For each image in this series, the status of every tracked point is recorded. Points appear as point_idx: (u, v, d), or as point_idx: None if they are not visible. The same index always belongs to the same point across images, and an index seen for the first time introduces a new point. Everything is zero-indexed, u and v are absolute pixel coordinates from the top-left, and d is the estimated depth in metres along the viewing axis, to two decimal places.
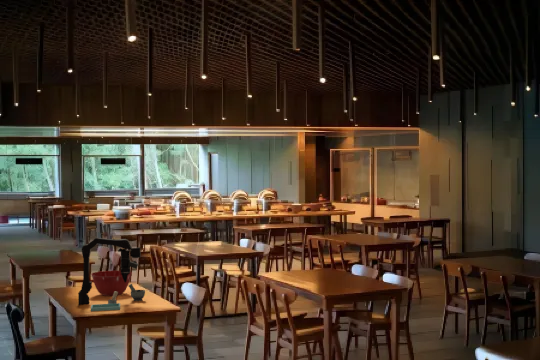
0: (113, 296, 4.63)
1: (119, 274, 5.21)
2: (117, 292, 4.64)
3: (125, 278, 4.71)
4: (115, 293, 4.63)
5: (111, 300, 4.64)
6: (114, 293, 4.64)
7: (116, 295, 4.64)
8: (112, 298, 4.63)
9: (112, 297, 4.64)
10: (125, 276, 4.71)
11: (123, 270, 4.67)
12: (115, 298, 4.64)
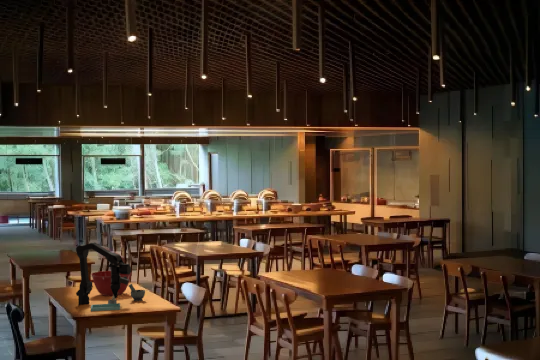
0: (113, 296, 4.63)
1: None
2: None
3: (115, 294, 4.62)
4: None
5: (111, 300, 4.64)
6: None
7: None
8: (112, 298, 4.64)
9: (112, 297, 4.64)
10: (115, 292, 4.62)
11: (113, 286, 4.55)
12: (115, 298, 4.64)
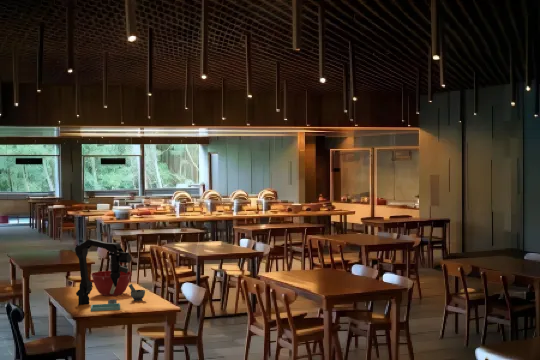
0: (113, 285, 4.63)
1: None
2: (117, 281, 4.64)
3: (115, 282, 4.62)
4: None
5: (111, 289, 4.63)
6: None
7: None
8: (112, 287, 4.63)
9: (112, 286, 4.64)
10: (115, 280, 4.62)
11: (113, 275, 4.55)
12: (115, 287, 4.64)
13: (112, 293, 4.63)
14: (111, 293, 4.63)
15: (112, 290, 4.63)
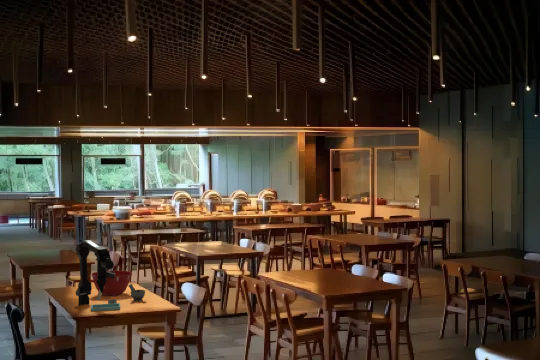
0: (99, 291, 4.52)
1: (119, 274, 5.21)
2: None
3: (102, 288, 4.51)
4: None
5: (97, 295, 4.52)
6: None
7: None
8: (98, 293, 4.52)
9: (98, 292, 4.52)
10: (102, 286, 4.51)
11: (99, 281, 4.44)
12: (101, 293, 4.52)
13: (98, 299, 4.52)
14: (97, 299, 4.52)
15: (98, 296, 4.52)
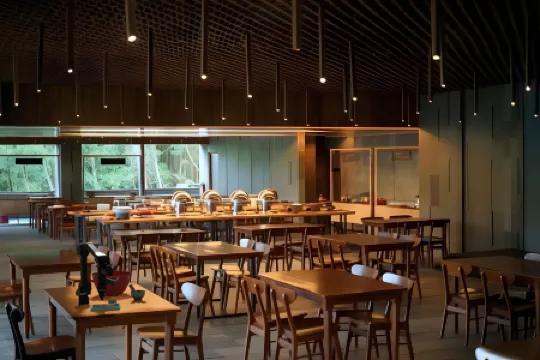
0: (109, 305, 4.53)
1: (119, 274, 5.21)
2: None
3: (102, 296, 4.48)
4: (112, 306, 4.53)
5: (104, 305, 4.53)
6: (112, 305, 4.54)
7: None
8: (106, 305, 4.53)
9: (107, 304, 4.53)
10: (102, 294, 4.47)
11: (99, 288, 4.44)
12: None
13: None
14: None
15: (103, 306, 4.52)
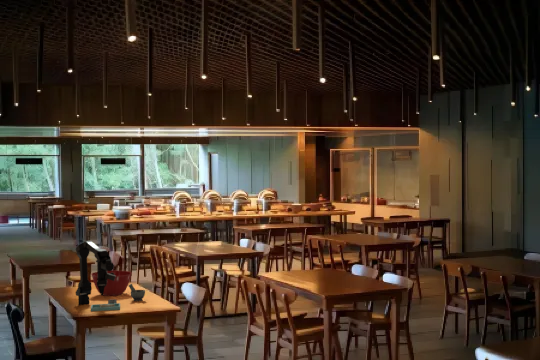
0: (109, 305, 4.53)
1: (119, 274, 5.21)
2: None
3: (102, 291, 4.47)
4: (112, 306, 4.53)
5: (104, 305, 4.53)
6: (112, 305, 4.53)
7: None
8: (106, 305, 4.53)
9: (107, 305, 4.53)
10: (102, 289, 4.47)
11: (99, 282, 4.44)
12: None
13: None
14: None
15: None
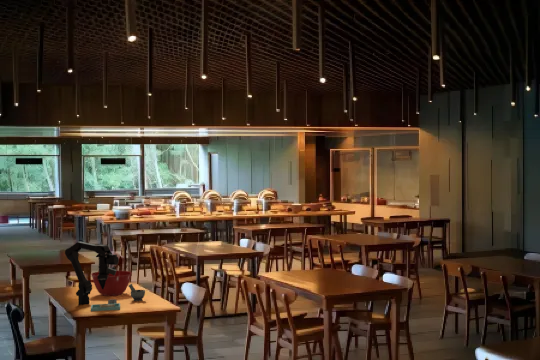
0: (109, 305, 4.53)
1: (119, 274, 5.21)
2: None
3: (102, 285, 4.61)
4: (112, 306, 4.53)
5: (104, 305, 4.53)
6: (112, 305, 4.53)
7: None
8: (106, 305, 4.53)
9: (107, 305, 4.53)
10: (102, 283, 4.61)
11: (100, 277, 4.57)
12: None
13: None
14: None
15: None
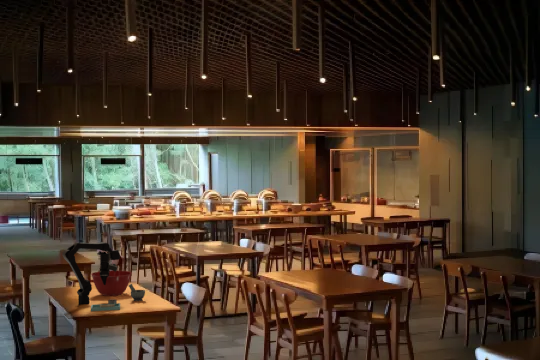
0: (109, 305, 4.53)
1: (119, 274, 5.21)
2: None
3: (104, 281, 4.75)
4: (112, 306, 4.53)
5: (104, 305, 4.53)
6: (112, 305, 4.53)
7: None
8: (106, 305, 4.53)
9: (107, 305, 4.53)
10: (104, 279, 4.75)
11: (102, 273, 4.71)
12: None
13: None
14: None
15: None
